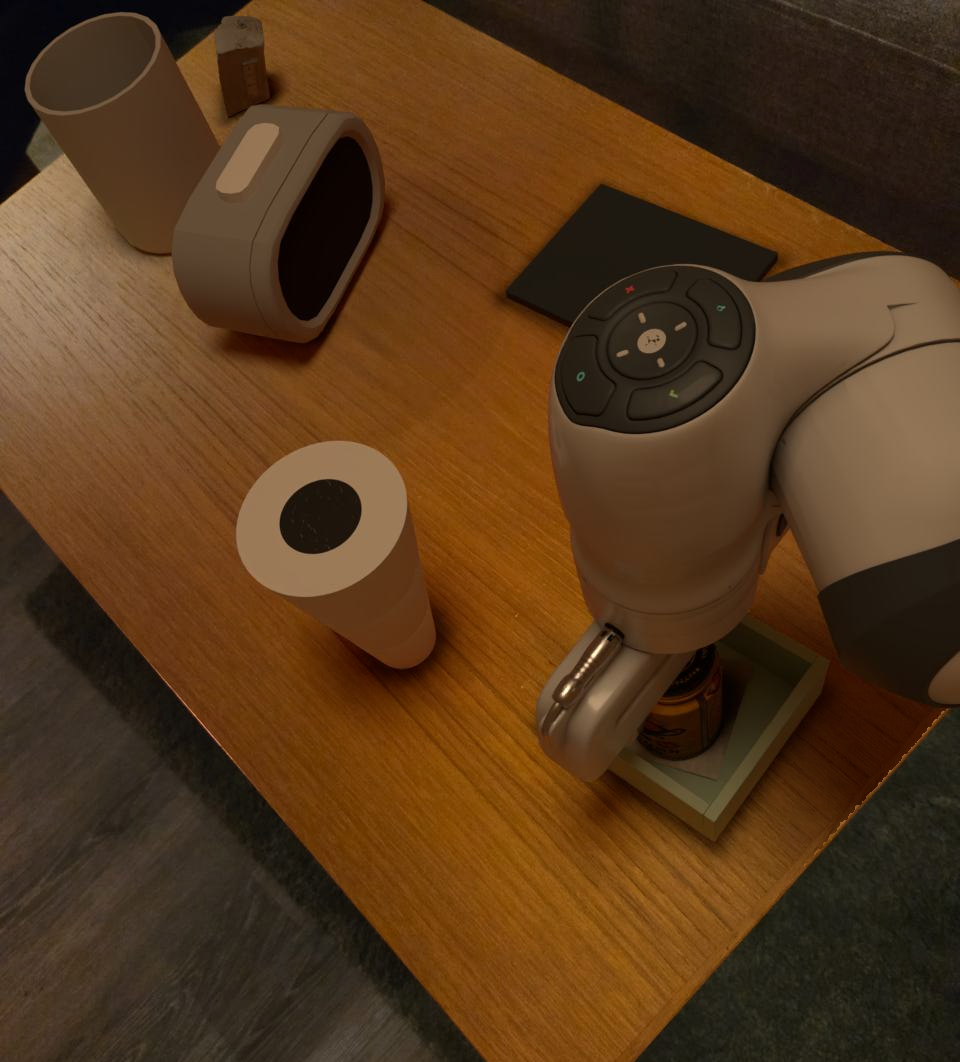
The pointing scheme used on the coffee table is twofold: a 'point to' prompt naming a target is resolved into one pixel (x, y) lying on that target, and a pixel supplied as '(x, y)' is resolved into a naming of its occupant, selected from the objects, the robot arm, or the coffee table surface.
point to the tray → (738, 729)
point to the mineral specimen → (241, 62)
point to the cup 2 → (341, 547)
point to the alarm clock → (280, 222)
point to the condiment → (695, 715)
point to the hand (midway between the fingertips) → (674, 667)
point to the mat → (625, 253)
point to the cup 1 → (125, 122)
